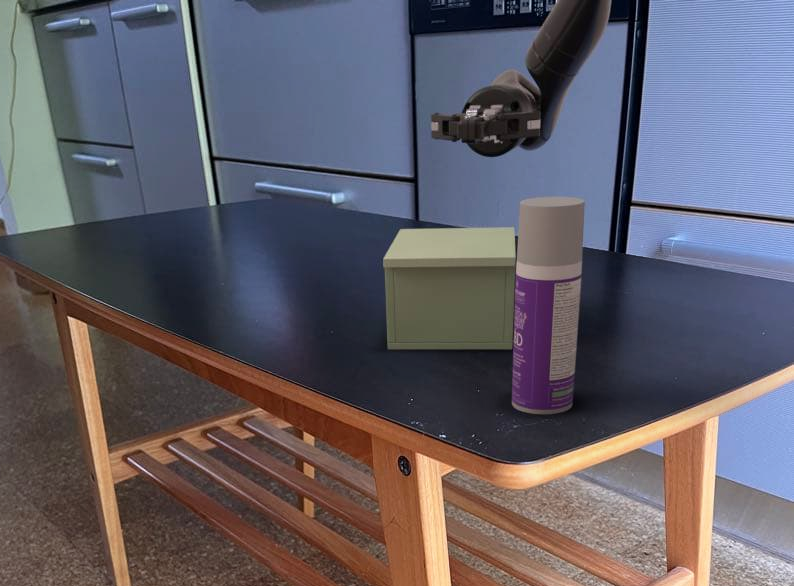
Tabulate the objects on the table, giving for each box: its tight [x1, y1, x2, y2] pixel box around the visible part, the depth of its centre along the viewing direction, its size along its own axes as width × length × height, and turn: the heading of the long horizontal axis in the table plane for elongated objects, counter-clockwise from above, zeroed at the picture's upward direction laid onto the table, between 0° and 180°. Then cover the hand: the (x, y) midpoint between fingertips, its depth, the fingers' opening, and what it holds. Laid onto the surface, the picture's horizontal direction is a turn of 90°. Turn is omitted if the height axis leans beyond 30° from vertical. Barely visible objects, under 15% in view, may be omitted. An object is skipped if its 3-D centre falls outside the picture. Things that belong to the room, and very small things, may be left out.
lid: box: [382, 226, 517, 269], centre depth 83 cm, size 14×12×1 cm
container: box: [511, 196, 586, 415], centre depth 64 cm, size 5×5×15 cm
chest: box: [384, 265, 516, 350], centre depth 85 cm, size 14×12×8 cm
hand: (468, 131), depth 90 cm, fingers closed
